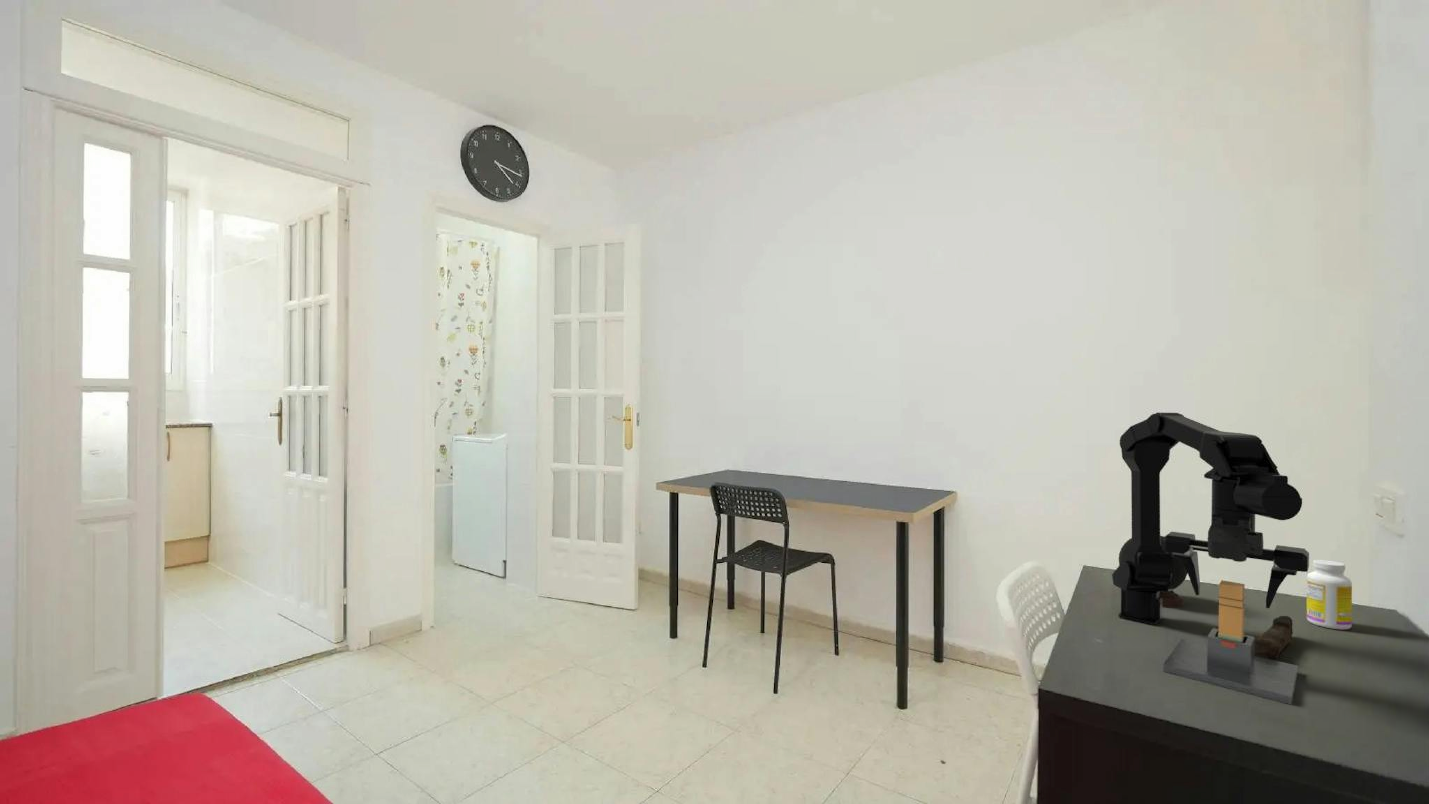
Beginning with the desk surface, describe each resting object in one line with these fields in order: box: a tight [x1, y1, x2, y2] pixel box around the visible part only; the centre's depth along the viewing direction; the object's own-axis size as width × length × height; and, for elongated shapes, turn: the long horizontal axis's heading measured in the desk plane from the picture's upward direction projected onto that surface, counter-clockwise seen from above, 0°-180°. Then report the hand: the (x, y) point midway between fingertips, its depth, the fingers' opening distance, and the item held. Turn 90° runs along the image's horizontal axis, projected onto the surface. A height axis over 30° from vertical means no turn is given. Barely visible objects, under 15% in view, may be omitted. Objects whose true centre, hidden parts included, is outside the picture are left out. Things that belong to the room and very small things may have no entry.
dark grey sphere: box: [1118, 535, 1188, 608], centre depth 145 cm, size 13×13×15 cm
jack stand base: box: [1162, 627, 1299, 705], centre depth 107 cm, size 16×16×6 cm
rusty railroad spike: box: [1254, 615, 1294, 661], centre depth 117 cm, size 19×4×5 cm, turn 125°
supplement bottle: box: [1306, 559, 1353, 631], centre depth 130 cm, size 7×7×13 cm
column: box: [1218, 579, 1246, 643], centre depth 106 cm, size 3×3×10 cm
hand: (1231, 601), depth 106 cm, fingers open, 9 cm apart
